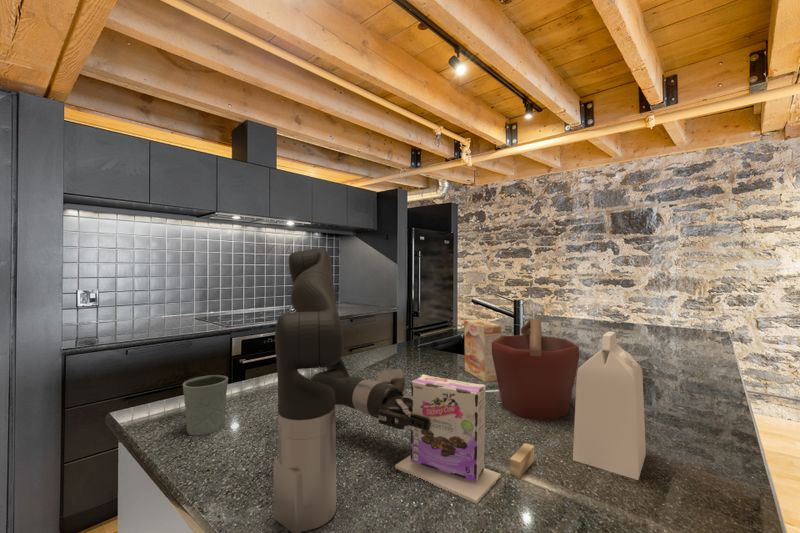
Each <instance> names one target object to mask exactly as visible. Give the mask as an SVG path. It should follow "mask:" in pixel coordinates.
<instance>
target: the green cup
mask: <svg viewBox="0 0 800 533" xmlns="http://www.w3.org/2000/svg"><path fill="white" fill-rule="evenodd" d="M228 382H229V377H228V376H226V375H220V374H216V375H215V374H214V375H213V374H211V375H205V376H204V375H203V376H197V377H194V378H190V379H188V380H185V381H184V382H183V383H182V390H183V397H184V398H183V399H184V400H183V401H184V408H185V409H184V411H185V420H186V422H185V423H186V426H185V427H186V432H187V434H188V435H191V436H205V435H209V434H212V433H216V432H218V431H220V430H222V429H223V428H224V426H225V424H226V416H225V415H226V409H227V407H226V406H227V396H228V395H227V394H228V393H227V392H228Z"/></svg>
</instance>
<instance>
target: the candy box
mask: <svg viewBox="0 0 800 533" xmlns="http://www.w3.org/2000/svg"><path fill="white" fill-rule="evenodd" d="M486 388H487V387H486V385H485V384H481V383H473V382H468V381H467V382H466V381H461V380H455V379H450V378H444V377H437V376H433V375H432V376H431V375H427V374H424V373H423V374H421V375H420V376H418V377H416V378H415V379H414V380H412V381H411V413H412V415H414V414H416V415H419V416H422V417H426V418H428V419H429V420H430V429H429V430H428V431H425V430H422V429H419V428H416V427H414V426H412V427H410V455H411V462H413V463H416V464H419V465H423V466H426V467H429V468H433V469H436V470H439V471H442V472H446V473H449V474H452V475H456V476H459V477H462V478H466V479H469V480H472V481H477V479H478V478H479V476H480V475H481V473H482V472H483V470H484V468H485V467H486V465H485V443H486V442H485V439H486V438H485V437H486V436H485V435H486V434H485V433H486V392H487V390H486Z"/></svg>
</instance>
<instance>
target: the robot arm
mask: <svg viewBox="0 0 800 533" xmlns="http://www.w3.org/2000/svg"><path fill="white" fill-rule="evenodd" d="M288 268H289V274H290V277H291V281H292V288H291V289H292V290H291V295H290V299H291V300H290V303H291V304H292V307H293V308H292V309H294V311H295V312H283V313H281V314H280V316H279V317H278V318H277V321H276V324H275V331H274V333H275V334H274V340H275V341H274V342H275V345H274V346H275V358H276V372H277V430H278V431H277V434H278V435H277V439H278V440H277V443H278V447H277V449H278V453H277V454H278V458H276V459H274V460H273V462H272V468H273V472H272V474H273V475H272V476H273V478H272V479H273V481H272V482H273V486H272V488H273V519H274V520H275V521H276V522H278V523H279V524H281V525H282V526H283V527H284V528H285V529H286V530H288V531H290V532H291V533H302V532H305V531H312V530H315V529H318V528H320V527H322V526H325V525H326V524H327V523H328V522H329V521H331V520H332V519H333V518H334V516H335V514H336V513H337V449H336V448H337V447H336V445H337V444H336V442H337V441H336V440H337V436H336V435H337V433H336V424H337V423H336V422H337V420H336V406H346V407H348V408H351V409H354V410H356V411H359V412H360V413H362V414H364V415H367V416H370V417H373V418H374V419H378V423H379V424H380V425H384V426H387V427H390V428H395V429H398V430H404V429H405V427H407V428H411V427H412V426H414V427H416V428H419V429H422V430H425V431H428V430H429V429H430V420H429V419H428V418H426V417H422V416H419V415H416V414H414V415H412V413H411V396H410V395H404V394H403V393H402V392H401V391H400V389H399V388H397V387H395V386H393V384H384V383H381V382H377V380H370V379H365V378H361V377H358V376H350V375H349V374H350V373H349V372H348V370H347V368H346V365H345V363H344V361H343V359H342V356H343V353H344V345H345V344H344V343H345V341H344V340H345V338H344V330H343V325H342V321H341V318H340V315H339V311H338V309H337V305H336V304H337V303H336V292H335V291H336V290H335V285H334V282H333V278H332V277H333V264H332V259H331V257H330V255H329V252H328V251H327V250H326V249H325V248H322V247H315V248H311V249H310V248H309V249H306V250H305V249H304V250H300V251H294V252H292V253H290V254H289V256H288ZM317 368H326V370H324V371H320V372H317V373H315V374H314V375H313V376H311V377H310V378H308V377H305V376H304V375H302V373H300V372H299V370H303V369H306V370H307V369H317ZM396 421H397V422H396Z"/></svg>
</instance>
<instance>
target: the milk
mask: <svg viewBox="0 0 800 533" xmlns="http://www.w3.org/2000/svg"><path fill="white" fill-rule="evenodd" d="M601 347H602V348H601V349H599V351H597V352H596V353H595V354H593V355H592V356H591V357H590V358H588V359H587V360H586V361H585V362H584V363H583V364H581V366H579V367H578V368H577V371H576V380H575V381H576V382H575V383H576V384H575V385H576V386H575V404H574V406H575V408H574V427H573V429H574V430H573V447H572V448H573V451H572V460H573V461H574V462H578V463H581V464H585V465H588V466H591V467H593V468H598V469H601V470H604V471H607V472H611V473H614V474H617V475H620V476H622V477H627V478H630V479H633V480H637V481H639V479H640V476H641V471H642V469H643V466H644V463H645V458H646V456H647V455H646V454H647V450H646V449H647V448H646V428H645V427H646V426H645V405H644V404H645V403H644V381H643V379H644V378H643V376H644V375H643V369H642V367H641V365H640V364H639V362H637V361H636V360H635V358H633V356H632V355H631V354H630V353H629V352H628V351H626V350H624V349H623V348H622V347H621V346H620V345H619V344H618V341H617V334H616V331H610V330H609V331H607V332H606V333H603V335H602V341H601Z"/></svg>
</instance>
